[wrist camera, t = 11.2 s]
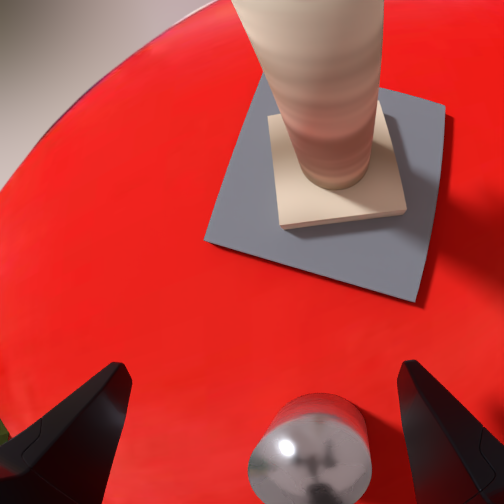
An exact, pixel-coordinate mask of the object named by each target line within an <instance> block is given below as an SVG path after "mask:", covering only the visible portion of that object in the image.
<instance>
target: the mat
mask: <svg viewBox="0 0 504 504" xmlns="http://www.w3.org/2000/svg"><path fill="white" fill-rule="evenodd" d="M378 100H379V102H380V105H381V108H382V111H383V115H384V118H385V121H386V125H387V128H388V131H389V135H390V138H391V142H392V146H393V150H394V153H395V157H396V161H397V165H398V170H399V174H400V178H401V183H402V187H403V192H404V197H405V202H406V207H407V210H406V212H405V213H404V214H403V215H398V216H390V217H382V218H373V219H365V220H357V221H349V222H341V223H333V224H325V225H317V226H309V227H302V228H294V229H287V230H283V229H282V228H281V226H280V225H279V215H278V205H277V196H276V186H275V177H274V168H273V159H272V151H271V142H270V134H269V125H268V117H267V116H271V115H276V114H281V113H280V111H279V108H278V106H277V103H276V101H275V98H274V96H273V93H272V91H271V88H270V86H269V84H268V81H267V79H266V76H265V74H264V72H263V74H262V76H261V79H260V82H259V84H258V87H257V89H256V92H255V94H254V97H253V100H252V102H251V105H250V108H249V110H248V113H247V116H246V118H245V121H244V124H243V126H242V129H241V132H240V135H239V137H238V140H237V143H236V146H235V148H234V151H233V154H232V157H231V160H230V163H229V165H228V168H227V171H226V174H225V177H224V180H223V183H222V186H221V189H220V192H219V195H218V198H217V200H216V203H215V206H214V210H213V213H212V216H211V219H210V222H209V225H208V228H207V231H206V234H205V237H204V241H207V242H209V243H212V244H216V245H219V246H223V247H226V248H229V249H233V250H236V251H239V252H243V253H246V254H250V255H253V256H256V257H260V258H263V259H267V260H270V261H273V262H277V263H280V264H284V265H287V266H290V267H294V268H297V269H300V270H304V271H307V272H311V273H314V274H318V275H321V276H324V277H328V278H331V279H335V280H338V281H341V282H345V283H348V284H352V285H355V286H358V287H362V288H365V289H369V290H372V291H376V292H379V293H382V294H386V295H389V296H393V297H396V298H400V299H403V300H406V301H410V302H415V300H416V296H417V293H418V289H419V285H420V281H421V277H422V273H423V269H424V265H425V261H426V256H427V252H428V247H429V242H430V237H431V232H432V227H433V221H434V215H435V209H436V203H437V196H438V189H439V182H440V173H441V164H442V154H443V142H444V126H445V106H444V105H441V104H438V103H435V102H432V101H429V100H425V99H422V98H418V97H415V96H411V95H408V94H404V93H400V92H396V91H392V90H388V89H384V88H379V92H378Z"/></svg>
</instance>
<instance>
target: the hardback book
mask: <svg viewBox="0 0 504 504" xmlns="http://www.w3.org/2000/svg"><path fill="white" fill-rule="evenodd" d="M8 436H9V432H8V431H7V429H6V427H5V426H4V424H3V423H2V421H1V419H0V446H1V445H2V444H4V443H6V442H7V441H8Z"/></svg>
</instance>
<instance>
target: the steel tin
mask: <svg viewBox="0 0 504 504" xmlns="http://www.w3.org/2000/svg"><path fill="white" fill-rule="evenodd" d="M371 475H372V465H371V457H370V449H369V442H368V435H367V428H366V423H365V420H364V417H363V416H362V414H361V412H360V411H359V410H358V408H357V407H356V406H354V405H353V404H352V403H351V402H349V401H348V400H346V399H344V398H342V397H340V396H337V395H333V394H328V393H313V394H307V395H303V396H300V397H298V398H296V399H294V400H292V401H290V402H289V403H287V404H286V405H285V406H284V407H283V408H282V409H281V410H280V411H279V412H278V414H277V415H276V416H275V418H274V420H273V421H272V423H271V425H270V426H269V428H268V429H267V431H266V432H265V434H264V436H263V437H262V439H261V440H260V442H259V443H258V445H257V446H256V448H255V449H254V451H253V453H252V455H251V457H250V460H249V464H248V477H249V481H250V484H251V487H252V489H253V490H254V492H255V493H256V495H257V496H258V497H259V498H260V499H261V500H262V501H263V502H264V503H265V504H354V503H355V502H357V501H358V500H359V499H360V497H361V496H362V495H363V494H364V492H365V491H366V489H367V487H368V485H369V483H370V480H371Z"/></svg>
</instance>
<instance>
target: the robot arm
mask: <svg viewBox="0 0 504 504" xmlns="http://www.w3.org/2000/svg"><path fill="white" fill-rule="evenodd" d="M131 387H132V379H131V376H130V374H129V372H128V371H127V369H126V367H125V365H124V364H123V363H119V362H112V363H110V364H109V365H107V366H106V367H105V368H104V369H102V370H101V371H100V372H99V373H97V374H96V375H95V376H93V377H92V378H91V379H90V380H88V381H87V382H86V383H85V384H83V385H82V386H81V387H79V388H78V389H77V390H76V391H74V392H73V393H72V394H71V395H69V396H68V397H67V398H65V399H64V400H63V401H62V402H60V403H59V404H58V405H57V406H55V407H54V408H53V409H51V410H50V411H49V412H48V413H46V414H45V415H44V416H43V417H42V418H40V419H39V420H37V421H36V422H35V423H33V424H32V425H31V426H29V427H28V428H27V429H25V430H24V431H23V432H21V433H20V434H18V435H17V436H15V437H13V438H12V439H10V440H9V441H7V442H6V443H4V444H2V445H1V446H0V504H102V501H103V497H104V493H105V489H106V485H107V481H108V478H109V474H110V470H111V467H112V463H113V459H114V456H115V452H116V449H117V446H118V442H119V439H120V435H121V432H122V429H123V425H124V422H125V418H126V413H127V407H128V402H129V397H130V392H131ZM397 387H398V395H399V403H400V412H401V421H402V427H403V432H404V437H405V441H406V446H407V451H408V456H409V461H410V466H411V472H412V477H413V483H414V489H415V495H416V501H417V504H504V445H503V444H502V443H500V442H499V441H498V440H497V439H496V438H495V437H494V436H493V435H492V434H491V433H490V432H489V431H488V430H487V429H486V428H485V427H483V425H482V424H481V423H480V422H479V421H478V420H477V419H476V418H475V417H474V416H473V415H472V414H471V413H470V412H469V411H468V410H467V409H466V408H465V407H464V406H463V405H462V404H461V403H460V402H459V401H458V400H457V399H456V398H455V397H454V396H453V395H452V394H451V393H450V392H449V391H448V390H447V389H446V388H445V387H444V386H443V385H442V384H441V383H440V382H439V381H437V380H436V379H435V378H434V377H433V376H432V375H431V374H430V373H429V372H428V371H427V370H426V369H425V368H424V367H423V366H422V365H421V364H420V363H419V362H418V361H416V360H407V361H404V362H403V363H402V365H401V369H400V372H399V375H398V378H397Z"/></svg>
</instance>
